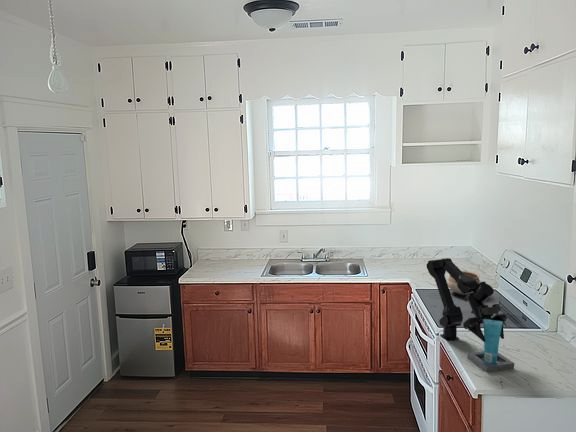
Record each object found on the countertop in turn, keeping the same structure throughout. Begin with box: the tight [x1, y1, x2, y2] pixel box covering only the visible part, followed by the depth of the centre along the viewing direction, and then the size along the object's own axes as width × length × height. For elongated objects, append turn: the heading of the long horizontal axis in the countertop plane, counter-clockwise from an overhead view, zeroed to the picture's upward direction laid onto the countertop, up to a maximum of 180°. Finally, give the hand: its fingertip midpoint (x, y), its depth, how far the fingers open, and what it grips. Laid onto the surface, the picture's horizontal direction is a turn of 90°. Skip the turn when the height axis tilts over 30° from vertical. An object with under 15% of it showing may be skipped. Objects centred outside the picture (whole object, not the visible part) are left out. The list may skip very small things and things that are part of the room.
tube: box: [483, 319, 504, 364], centre depth 203 cm, size 7×5×19 cm, turn 72°
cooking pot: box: [446, 270, 481, 297], centre depth 293 cm, size 25×19×12 cm
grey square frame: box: [467, 350, 515, 373], centre depth 204 cm, size 13×13×2 cm
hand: (494, 340), depth 201 cm, fingers open, 9 cm apart
